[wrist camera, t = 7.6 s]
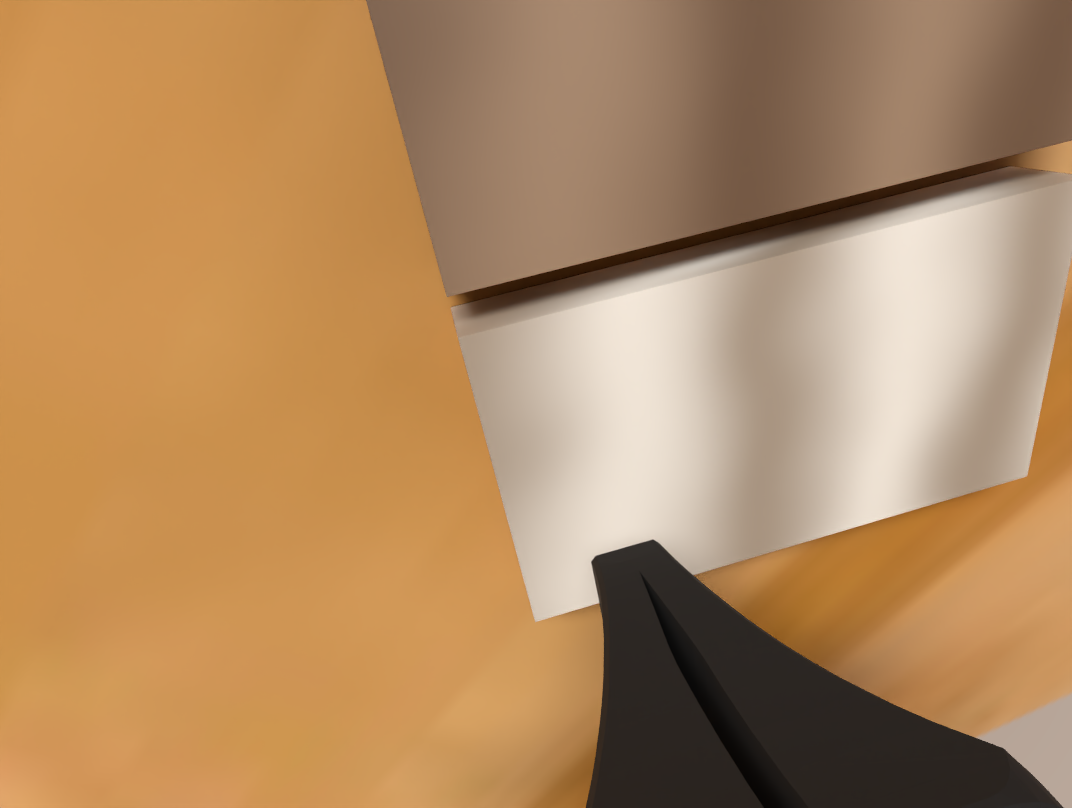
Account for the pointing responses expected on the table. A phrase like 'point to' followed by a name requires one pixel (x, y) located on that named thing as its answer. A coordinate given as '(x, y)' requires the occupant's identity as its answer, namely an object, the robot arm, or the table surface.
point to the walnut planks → (697, 112)
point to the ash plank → (772, 379)
